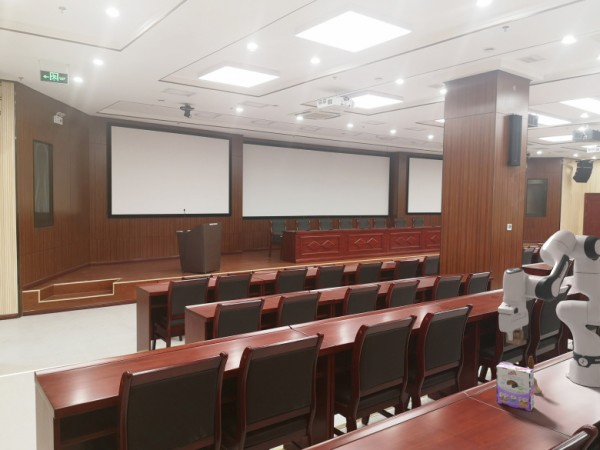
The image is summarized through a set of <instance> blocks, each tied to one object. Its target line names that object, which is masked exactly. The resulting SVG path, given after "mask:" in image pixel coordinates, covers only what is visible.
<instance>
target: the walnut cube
mask: <svg viewBox="0 0 600 450" xmlns="http://www.w3.org/2000/svg"><path fill="white" fill-rule="evenodd" d="M513 336H514V340H512V341H511V340H509V339H508V334H507V332H505V341H506V343H508V344H512V345H516V346H519V345H521V344H523V343H524V330H522V331H521V330H516V329H515V330H513Z"/></svg>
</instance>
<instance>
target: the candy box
mask: <svg viewBox="0 0 600 450" xmlns="http://www.w3.org/2000/svg"><path fill="white" fill-rule="evenodd" d="M495 371H496V377H495V379H496V382H495V383H496V384H495V386H496V403H497V404H500V405H501V404H502V405H505V406H509V407H512V408H516V409H519V410H523V411H527V412H531V411H532V410H533V409H534V408H535V394H534V378H535V377H534V368H533V369H529V367H528V368H527V367H522V366H518V365H515V364H513V365H509V364H504V363H500V362H499V363H498V364H497V365H496V366H495Z"/></svg>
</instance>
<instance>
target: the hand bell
mask: <svg viewBox="0 0 600 450" xmlns="http://www.w3.org/2000/svg"><path fill="white" fill-rule="evenodd" d="M527 365H528V369H533V370H534V367H535V360H534V357H533V356H532V355H529V356H528V360H527ZM541 393H542V389H541V388H540V387H539V385H538V380H537V378H536V377H534V395H535V394H541Z"/></svg>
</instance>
